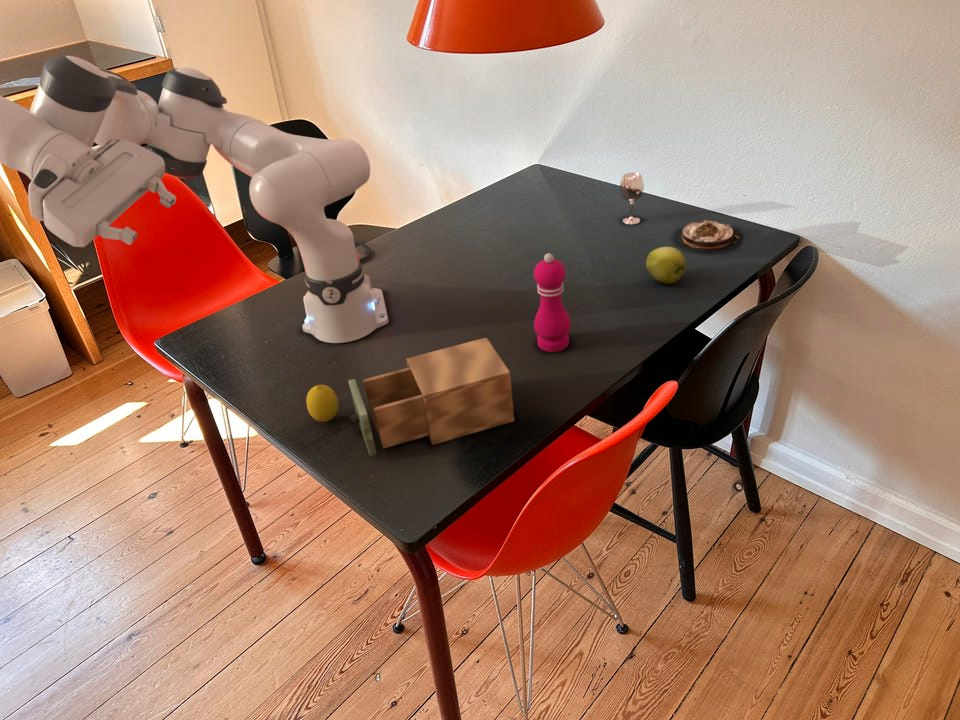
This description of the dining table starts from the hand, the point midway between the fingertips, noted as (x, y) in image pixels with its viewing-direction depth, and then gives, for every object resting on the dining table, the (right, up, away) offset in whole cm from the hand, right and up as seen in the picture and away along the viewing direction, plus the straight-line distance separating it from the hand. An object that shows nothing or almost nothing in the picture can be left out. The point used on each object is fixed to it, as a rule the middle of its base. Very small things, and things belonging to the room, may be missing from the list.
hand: (154, 220), depth 115 cm
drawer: (+35, -33, +20) cm, 52 cm away
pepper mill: (+64, -18, +39) cm, 77 cm away
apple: (+90, -4, +55) cm, 106 cm away
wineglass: (+88, +15, +82) cm, 121 cm away
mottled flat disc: (+104, +8, +70) cm, 126 cm away
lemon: (+21, -32, +25) cm, 46 cm away
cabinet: (+46, -31, +23) cm, 60 cm away
